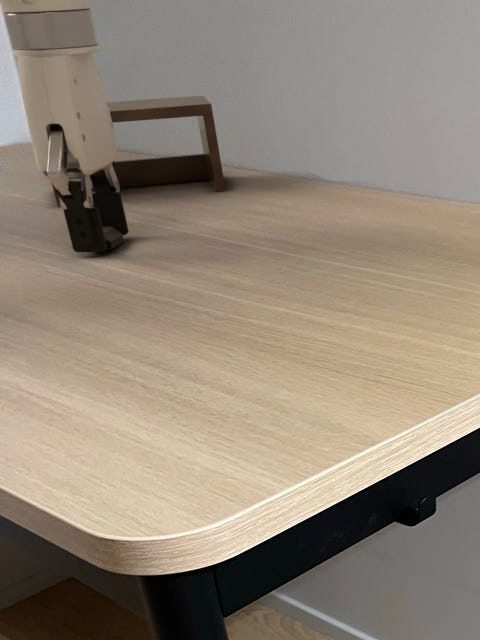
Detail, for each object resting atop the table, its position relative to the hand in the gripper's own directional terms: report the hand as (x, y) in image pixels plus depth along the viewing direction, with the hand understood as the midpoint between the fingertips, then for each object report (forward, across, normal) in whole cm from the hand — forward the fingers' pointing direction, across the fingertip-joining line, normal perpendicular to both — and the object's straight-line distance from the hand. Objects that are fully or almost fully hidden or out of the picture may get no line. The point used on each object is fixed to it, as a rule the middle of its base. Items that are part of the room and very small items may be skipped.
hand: (102, 241), depth 100 cm
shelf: (+1, -30, -5) cm, 31 cm away
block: (+1, 0, 0) cm, 1 cm away
